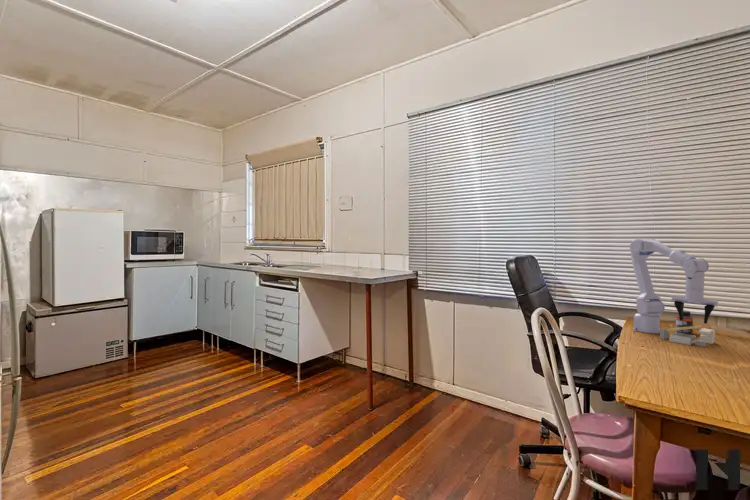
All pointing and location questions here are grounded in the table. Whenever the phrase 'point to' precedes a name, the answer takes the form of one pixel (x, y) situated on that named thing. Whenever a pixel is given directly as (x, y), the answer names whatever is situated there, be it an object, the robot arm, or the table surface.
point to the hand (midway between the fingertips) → (693, 321)
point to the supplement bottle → (684, 323)
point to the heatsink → (682, 338)
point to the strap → (683, 328)
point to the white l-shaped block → (707, 335)
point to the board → (665, 335)
